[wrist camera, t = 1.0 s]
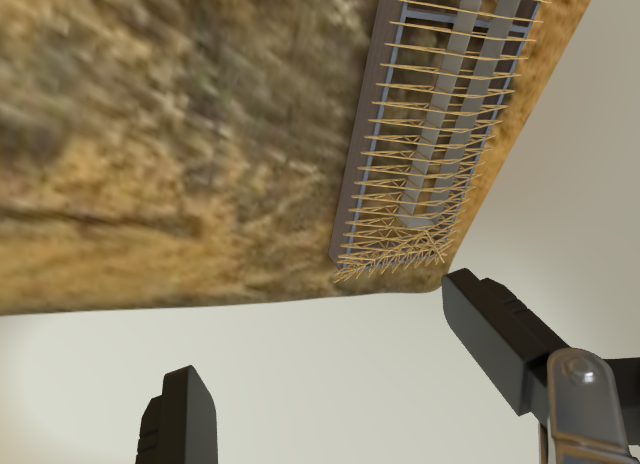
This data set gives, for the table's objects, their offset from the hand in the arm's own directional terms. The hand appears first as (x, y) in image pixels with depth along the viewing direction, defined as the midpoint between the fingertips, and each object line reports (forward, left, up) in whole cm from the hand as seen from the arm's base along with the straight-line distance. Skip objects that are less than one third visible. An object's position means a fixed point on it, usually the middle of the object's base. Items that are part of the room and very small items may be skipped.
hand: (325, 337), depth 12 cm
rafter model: (+19, +3, -22) cm, 30 cm away
